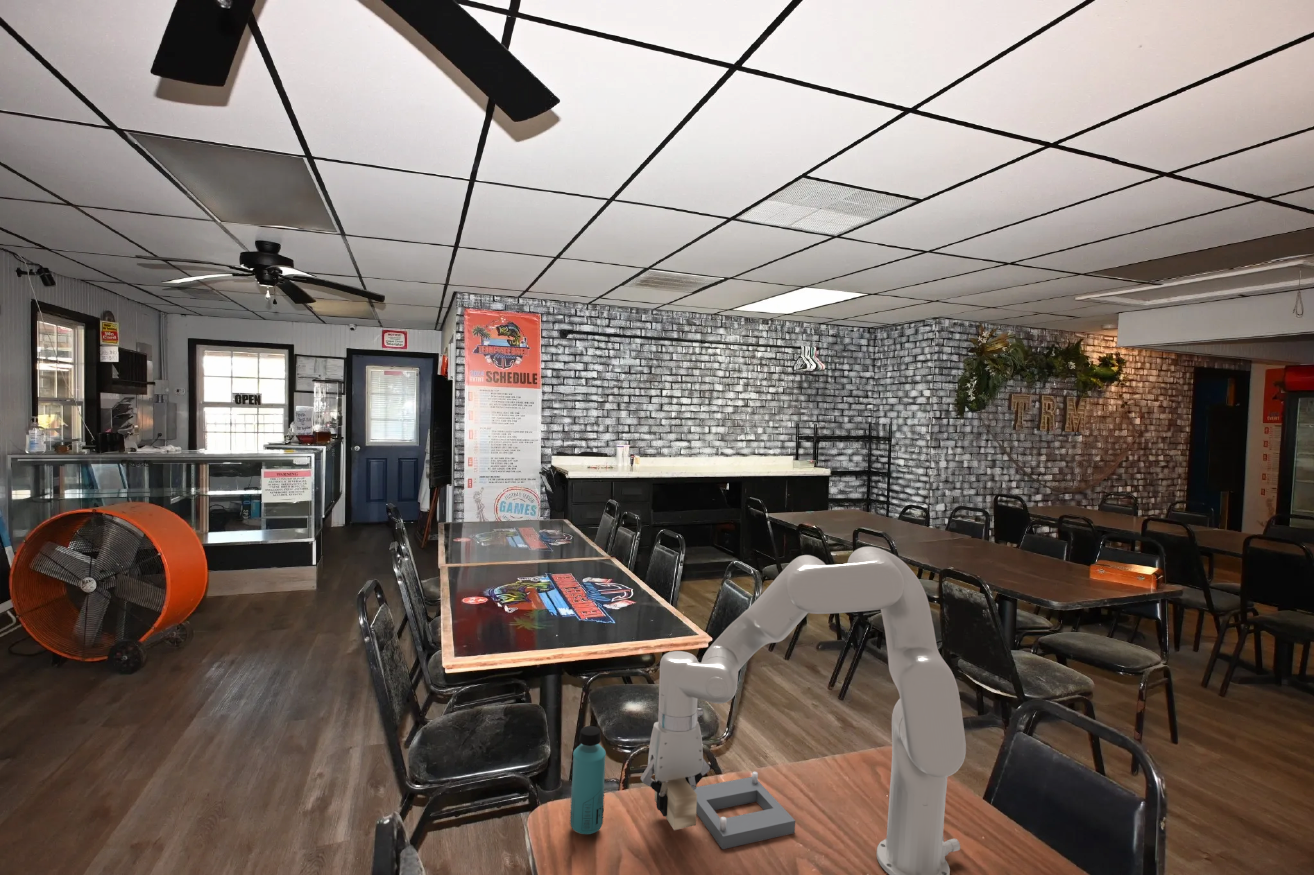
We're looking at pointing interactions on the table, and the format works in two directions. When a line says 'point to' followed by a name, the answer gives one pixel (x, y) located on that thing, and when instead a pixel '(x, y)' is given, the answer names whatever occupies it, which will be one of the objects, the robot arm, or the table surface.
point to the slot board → (747, 825)
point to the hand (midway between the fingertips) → (674, 808)
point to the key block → (680, 804)
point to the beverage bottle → (588, 782)
